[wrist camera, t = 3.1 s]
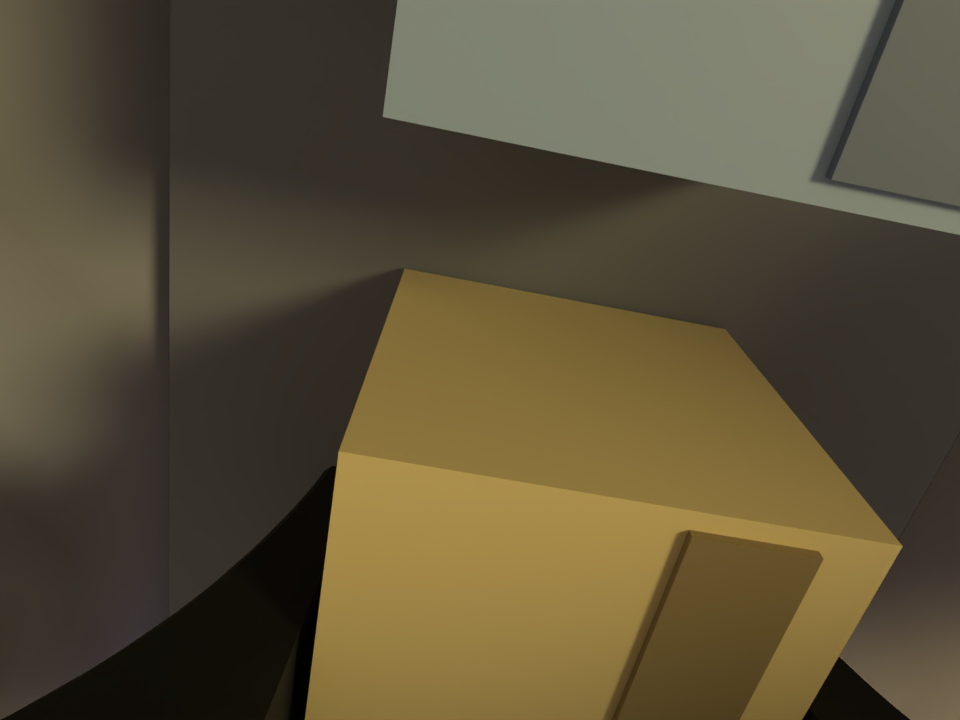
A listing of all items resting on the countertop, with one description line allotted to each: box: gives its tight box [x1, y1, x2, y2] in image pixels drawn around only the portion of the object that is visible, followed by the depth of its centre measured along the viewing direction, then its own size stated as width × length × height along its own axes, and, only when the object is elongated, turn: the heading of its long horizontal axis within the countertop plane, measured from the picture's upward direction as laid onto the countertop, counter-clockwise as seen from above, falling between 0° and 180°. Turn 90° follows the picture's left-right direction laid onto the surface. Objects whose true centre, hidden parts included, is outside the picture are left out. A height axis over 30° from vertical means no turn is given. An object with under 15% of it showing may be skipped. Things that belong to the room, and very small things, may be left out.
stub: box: [305, 269, 903, 720], centre depth 9 cm, size 5×6×5 cm
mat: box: [169, 0, 960, 617], centre depth 10 cm, size 13×26×1 cm, turn 169°
